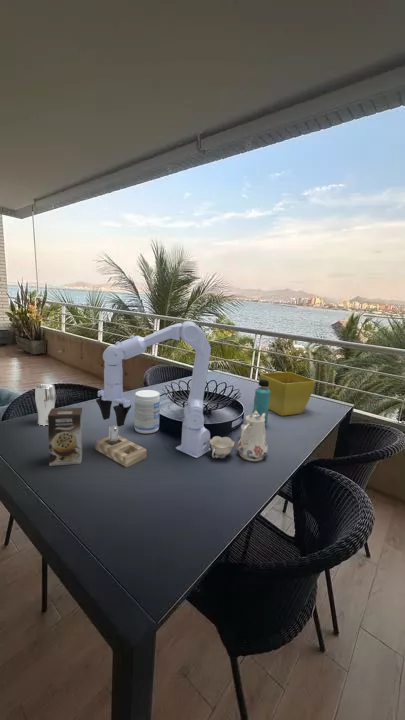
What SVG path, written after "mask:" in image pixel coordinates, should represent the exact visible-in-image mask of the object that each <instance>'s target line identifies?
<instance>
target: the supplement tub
mask: <svg viewBox="0 0 405 720" xmlns="http://www.w3.org/2000/svg"><path fill="white" fill-rule="evenodd" d="M160 403H161V393H160V392H159V391H158V390H157V391H156V390H154V389H143V390H138V391H136V392H135V394H134V425H133V426H134V429H135V431H136V432H137V433H140V434H145V435H146V434H147V435H148V434H152V433H156V432H157V431H158V430H159V428H160V409H161V407H160V406H161V405H160Z"/></svg>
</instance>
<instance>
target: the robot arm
mask: <svg viewBox="0 0 405 720" xmlns="http://www.w3.org/2000/svg"><path fill="white" fill-rule="evenodd" d="M170 339H171V340H175V341H180V340H181V339H182V341H183V342H184V343H187V344H188V345H189V346H191V347H192V349H193V350H194V351H195V356H194V362H193V368H192V374H191V380H190V388H189V393H188V394H189V396H188V398H187V402H186V404H185V405H184V407H183V411H182V412H183V415H184V420H183V422H182V423H181V424H182V427H181V444H180V445H177V446H176V447H175V449H176V450H177V451H180V452H182V453H184V454H187V455H189V456H190V457H193V458H195V459H198V458H200V457H201V456H203V455H205V454H206V453H208V452H210V451H212V448H210V446H211V444H210V443H209V440H210V439H211V432H210V430H209V429H207V428H206V427H205V426H204V423H205V417H204V416H205V415H204V413H203V412H204V398H205V397H204V396H205V389H206V383H207V378H208V377H207V376H208V370H209V364H210V358H211V352H212V348H211V345H210V343H209V340H208V339H207V336H206V335H205V332H204V331H203V330H202V328H200V327H199V326H198V325H197V324H196V323H195V322H194V321H191V320H185V321H184V322H179V323H174V324H172V325H169V326H167V327H164V328H162V329H160V330H157V331H155V332H153V333H151V334H148V335H146V336H144V337H142V336H140V335H136V336H135V334H133V335H130V336H129V338H128V339H125V340H122V341H116V342H115V344H110V345H109V346H107V348H106V349H105V350H104V351H103V353H102V360H103V361H104V369H103V380H104V381H103V389H101V390H98V391H97V397H98V398H97V399H96V400H95V401H96V404H97V405H98V407H99V409H100V412H101V417H102V419H103V421H106V420H108V419H110V417H111V409H112V408H113V410H114V413H115V418H116V419H115V420H116V426H118V428H119V427H122V426H124V425H125V421H126V418H127V415H128V413H129V411H130V409H131V408H132V404H131V400H130V399H128V398H127V397H126V396H125V395H124V394H123V391H124V390H123V389H124V388H123V387H124V386H123V382H124V381H123V380H124V379H123V373H124V372H123V369H124V367H123V360H128V359H131V358H133V357H135V356H138V355H141V354H144V353H146V350H147V348H148V347H151V346H153V345H156V344H158V343H162V342H164V341H168V340H170ZM113 402H114V403H116V404H118V405H113V407H112V403H113Z"/></svg>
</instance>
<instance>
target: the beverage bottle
mask: <svg viewBox="0 0 405 720" xmlns="http://www.w3.org/2000/svg"><path fill="white" fill-rule="evenodd" d="M258 386H259V387H257V388H255V390H254V391H255V392H254V393H255V394H254V399H253V409H252V410H253V412H252V414H253V413H254V412H255V411H257V412H258V414H259V415H260V416H262V414H263V413H266V415H265V421H264V423H265V426H266V425H267V424H268V421H269V420H268V419H269V410H270V409H269V400H270V390H269V389H268V388H266V387H268V386H269V381H267V380H260V379H259V380H258ZM261 386H263V387H261Z"/></svg>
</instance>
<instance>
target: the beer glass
mask: <svg viewBox="0 0 405 720" xmlns="http://www.w3.org/2000/svg"><path fill="white" fill-rule="evenodd" d="M34 389H35V390H34V395H35V396H34V400H35V405H36V410H37V413H38V414H37V416H38V417H37V418H38V419H37V425H38V424H39V425H38V426H40V425H43V426H42V427H46V426H45V425H48V415H49V412H50V411H51V409H52V408H55V406H56V405H55V404H56V389H55V384H53V383H41V384H37V385H35V388H34Z"/></svg>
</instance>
